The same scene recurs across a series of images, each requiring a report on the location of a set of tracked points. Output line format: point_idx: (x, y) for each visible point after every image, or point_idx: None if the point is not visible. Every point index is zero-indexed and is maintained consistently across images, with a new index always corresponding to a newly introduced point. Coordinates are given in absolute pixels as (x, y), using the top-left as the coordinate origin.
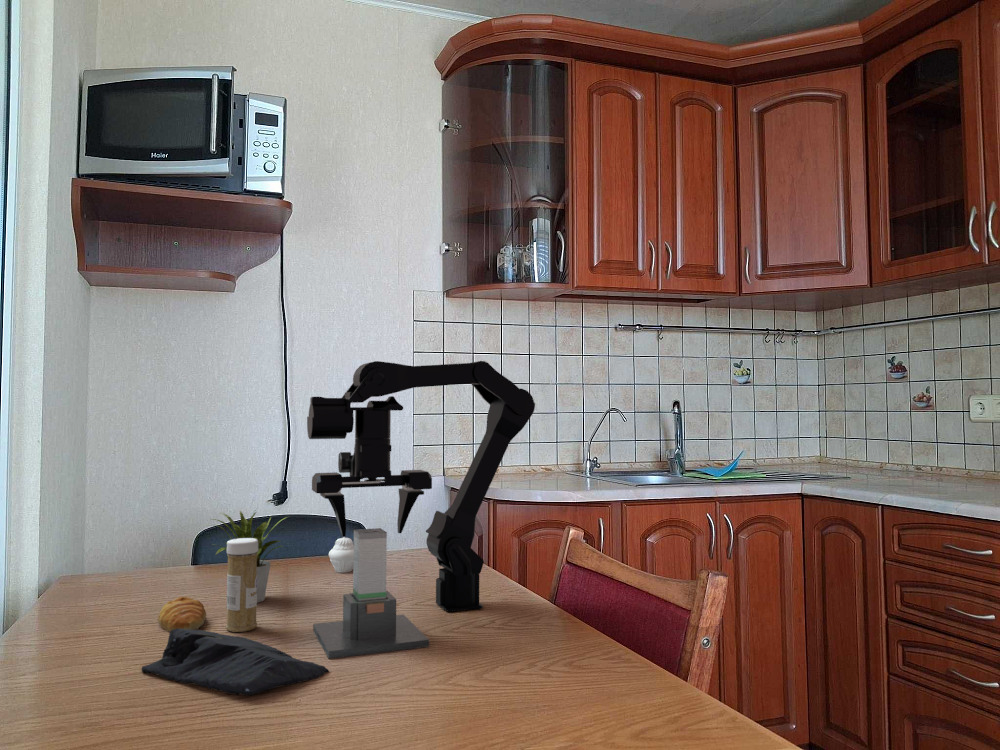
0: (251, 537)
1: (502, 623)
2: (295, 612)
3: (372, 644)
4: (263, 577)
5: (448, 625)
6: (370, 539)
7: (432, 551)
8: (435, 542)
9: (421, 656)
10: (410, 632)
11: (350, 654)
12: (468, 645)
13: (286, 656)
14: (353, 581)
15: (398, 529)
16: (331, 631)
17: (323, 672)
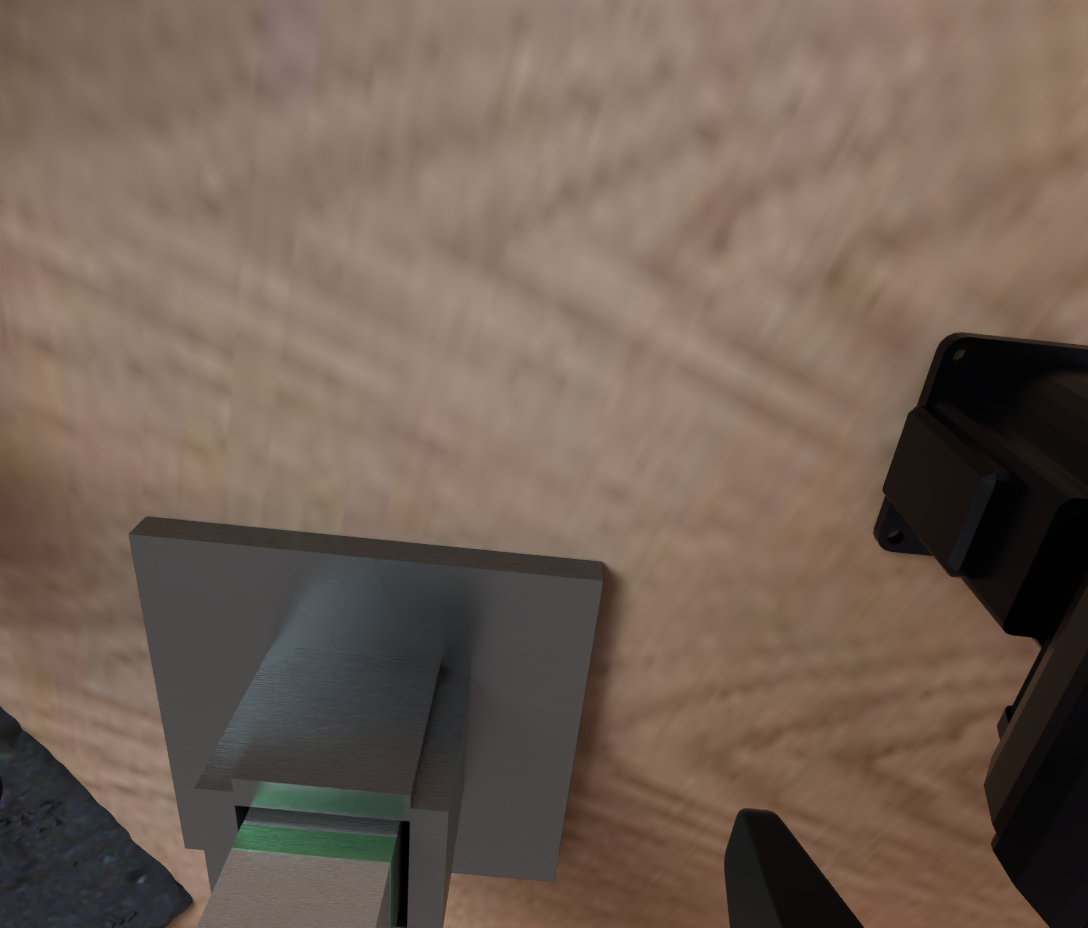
0: None
1: (969, 763)
2: (27, 95)
3: None
4: None
5: (754, 697)
6: None
7: (1062, 648)
8: (1071, 835)
9: (495, 906)
10: (523, 800)
11: None
12: (684, 890)
13: (34, 872)
14: (215, 890)
15: (740, 875)
16: (211, 670)
17: (171, 920)
